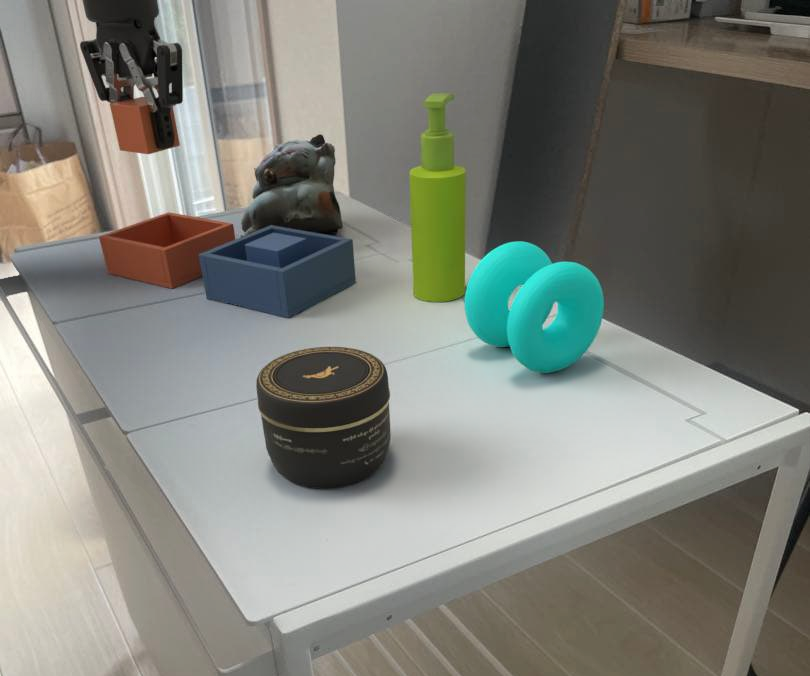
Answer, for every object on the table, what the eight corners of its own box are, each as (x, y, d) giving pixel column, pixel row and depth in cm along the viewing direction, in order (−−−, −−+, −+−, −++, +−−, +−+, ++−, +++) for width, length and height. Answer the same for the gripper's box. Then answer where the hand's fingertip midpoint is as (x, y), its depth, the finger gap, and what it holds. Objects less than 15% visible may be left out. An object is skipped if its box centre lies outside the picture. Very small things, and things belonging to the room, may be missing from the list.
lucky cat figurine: (222, 243, 113) (215, 134, 111) (286, 256, 123) (281, 156, 121) (302, 223, 104) (296, 105, 102) (364, 239, 113) (360, 131, 112)
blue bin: (206, 298, 97) (198, 254, 94) (276, 266, 105) (271, 224, 102) (288, 318, 91) (282, 271, 88) (356, 282, 99) (352, 238, 96)
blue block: (250, 287, 97) (244, 244, 94) (278, 274, 100) (273, 232, 97) (283, 295, 95) (278, 250, 92) (311, 281, 98) (306, 238, 95)
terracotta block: (119, 150, 96) (109, 103, 93) (151, 142, 99) (142, 96, 96) (148, 154, 94) (138, 106, 91) (180, 145, 97) (171, 99, 94)
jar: (416, 445, 68) (413, 358, 64) (348, 507, 61) (339, 414, 57) (316, 419, 72) (306, 335, 68) (242, 474, 66) (225, 385, 61)
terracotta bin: (107, 273, 105) (98, 236, 103) (175, 247, 113) (168, 211, 110) (172, 288, 100) (164, 250, 97) (239, 260, 108) (233, 223, 105)
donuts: (540, 328, 86) (546, 229, 80) (604, 362, 79) (616, 256, 73) (458, 351, 83) (458, 248, 77) (517, 389, 76) (522, 279, 70)
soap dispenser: (471, 281, 98) (473, 90, 86) (458, 303, 93) (458, 102, 81) (423, 279, 99) (418, 89, 87) (407, 300, 94) (400, 101, 82)
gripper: (38, -32, 87) (82, 146, 97) (132, -33, 80) (168, 158, 90) (96, -36, 92) (132, 134, 102) (189, -38, 85) (217, 144, 95)
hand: (149, 144), depth 96 cm, fingers closed on terracotta block, 4 cm apart
